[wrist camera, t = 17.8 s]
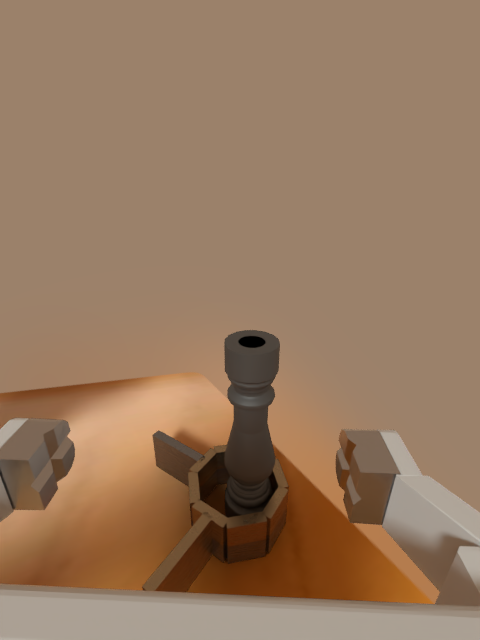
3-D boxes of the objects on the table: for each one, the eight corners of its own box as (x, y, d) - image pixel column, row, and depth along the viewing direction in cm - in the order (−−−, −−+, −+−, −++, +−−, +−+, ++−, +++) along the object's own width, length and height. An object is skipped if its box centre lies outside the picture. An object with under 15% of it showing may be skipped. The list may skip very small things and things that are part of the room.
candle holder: (264, 488, 46) (272, 327, 37) (278, 530, 41) (291, 352, 31) (221, 496, 45) (217, 331, 36) (229, 540, 40) (227, 359, 30)
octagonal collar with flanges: (69, 542, 39) (59, 507, 37) (185, 439, 55) (183, 411, 53) (200, 674, 29) (196, 638, 27) (297, 501, 45) (301, 469, 42)
